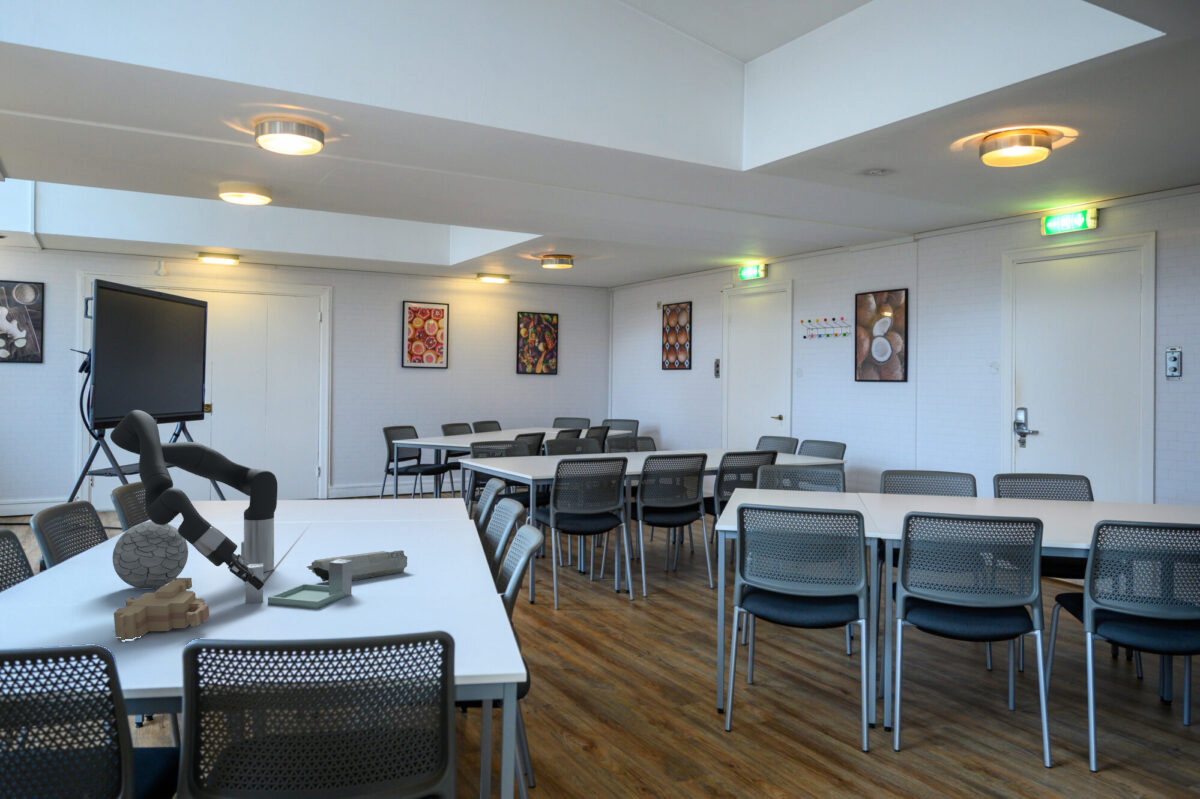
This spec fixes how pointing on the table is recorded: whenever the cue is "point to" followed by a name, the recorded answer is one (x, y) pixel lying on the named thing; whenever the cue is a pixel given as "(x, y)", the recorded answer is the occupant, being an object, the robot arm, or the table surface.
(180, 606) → the toy
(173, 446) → the robot arm
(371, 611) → the table surface
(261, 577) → the post
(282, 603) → the tray
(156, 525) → the decorative sphere
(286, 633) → the table surface
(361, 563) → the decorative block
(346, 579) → the post
